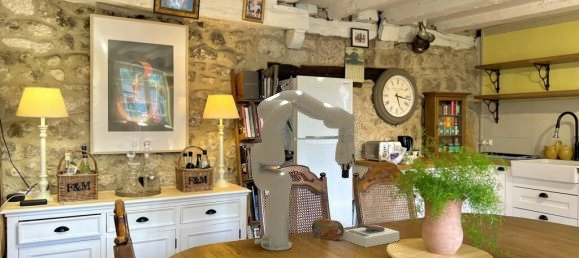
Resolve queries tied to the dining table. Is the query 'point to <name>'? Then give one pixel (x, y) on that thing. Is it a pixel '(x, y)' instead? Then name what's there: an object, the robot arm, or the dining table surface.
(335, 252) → the dining table surface
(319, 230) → the tin
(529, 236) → the dining table surface
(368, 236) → the switch panel
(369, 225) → the rocker
